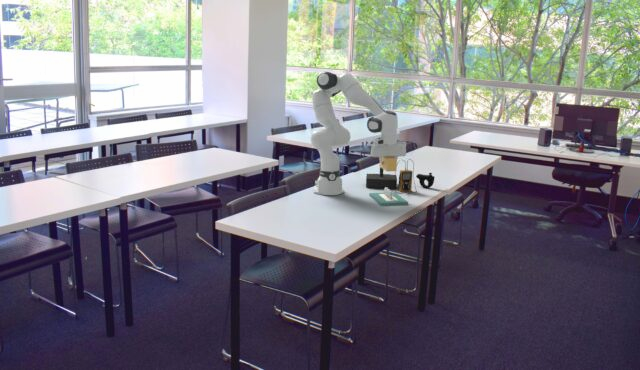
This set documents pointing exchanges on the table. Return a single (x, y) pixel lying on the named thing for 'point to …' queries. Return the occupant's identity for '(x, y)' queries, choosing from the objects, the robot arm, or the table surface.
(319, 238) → the table surface
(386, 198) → the board
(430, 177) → the controller
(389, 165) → the block
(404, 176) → the multimeter
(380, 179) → the black block with post
